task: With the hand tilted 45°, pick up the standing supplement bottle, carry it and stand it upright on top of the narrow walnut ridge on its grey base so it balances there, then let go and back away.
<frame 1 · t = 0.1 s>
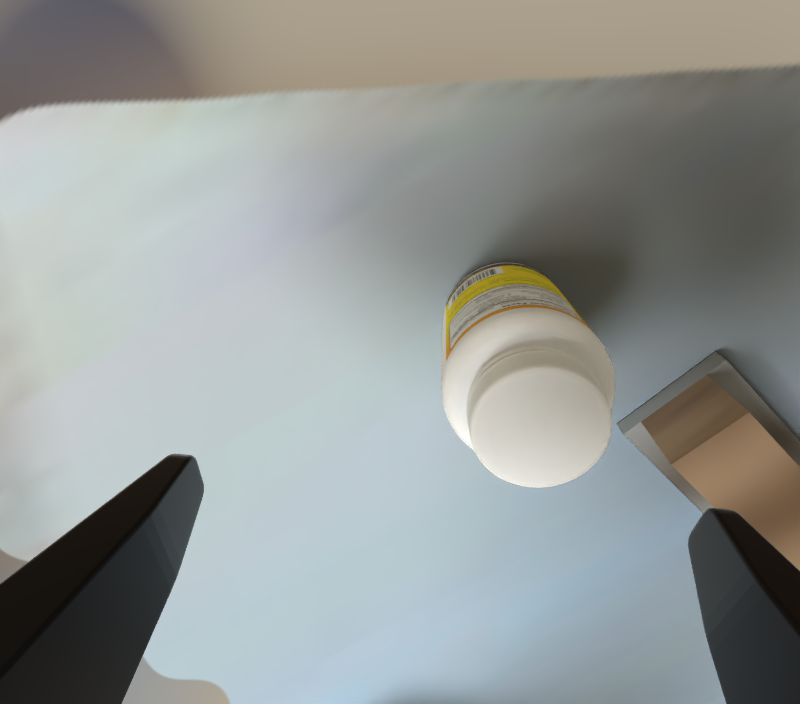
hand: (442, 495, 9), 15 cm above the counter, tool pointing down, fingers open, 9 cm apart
supplement bottle: (502, 316, 24), on the counter
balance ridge: (726, 454, 25), on the counter
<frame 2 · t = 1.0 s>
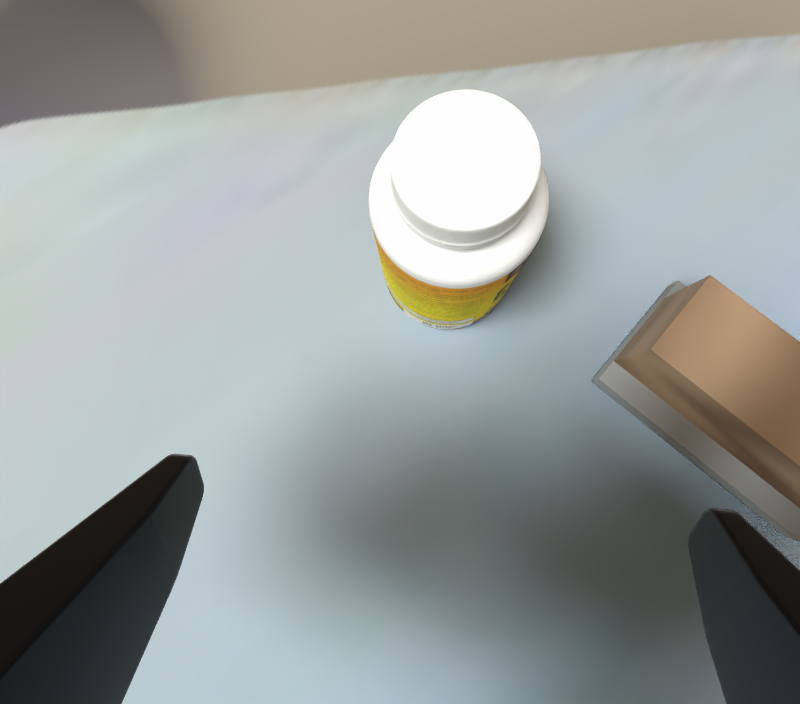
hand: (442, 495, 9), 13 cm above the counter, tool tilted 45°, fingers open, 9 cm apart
supplement bottle: (446, 272, 24), on the counter
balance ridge: (724, 407, 22), on the counter
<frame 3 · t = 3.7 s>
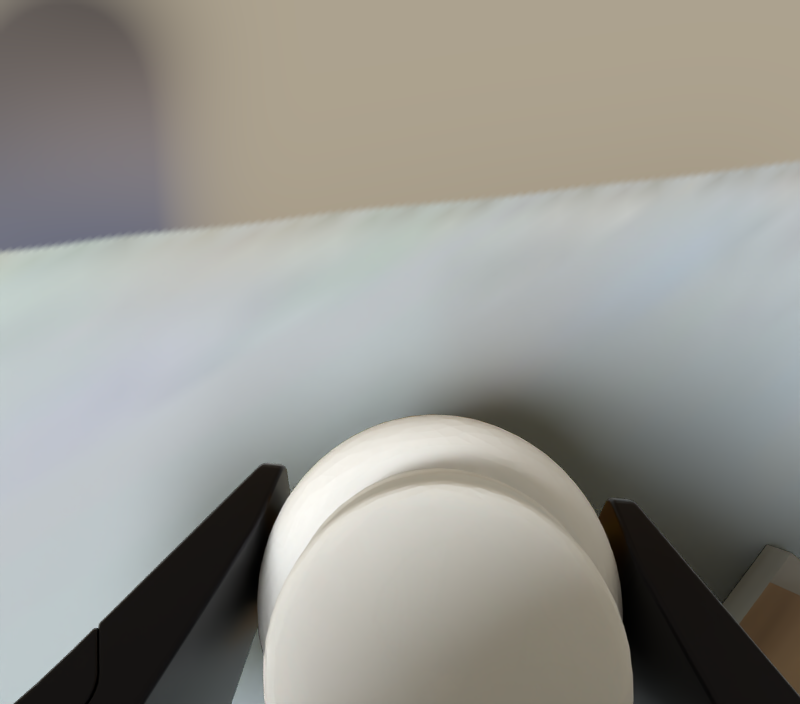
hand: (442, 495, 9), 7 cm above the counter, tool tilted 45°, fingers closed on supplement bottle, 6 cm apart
supplement bottle: (429, 512, 16), on the counter, touching gripper
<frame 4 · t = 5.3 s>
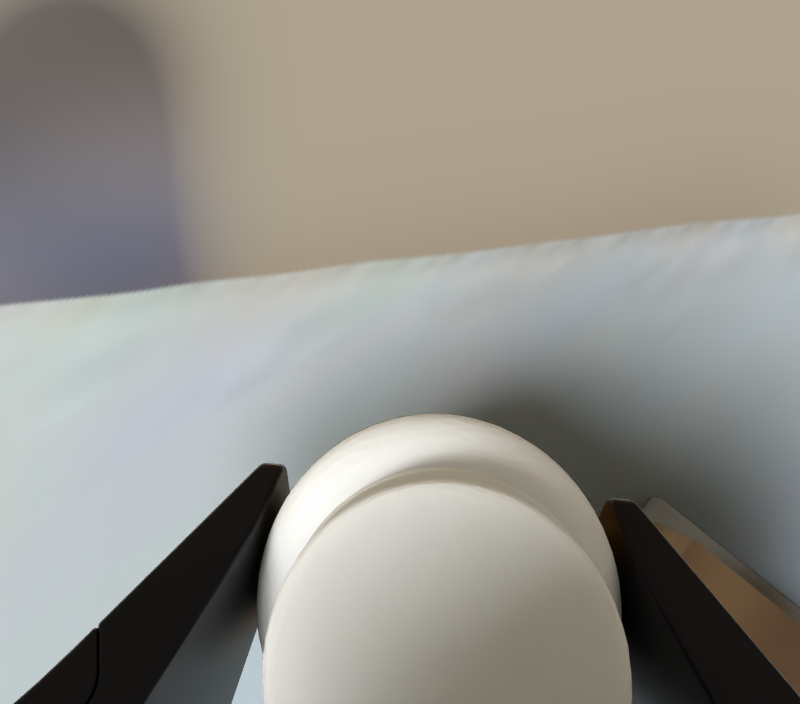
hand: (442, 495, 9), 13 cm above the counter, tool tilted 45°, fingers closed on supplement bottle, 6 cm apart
supplement bottle: (428, 511, 16), point 6 cm above the counter, touching gripper
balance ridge: (713, 630, 21), on the counter
when the fingers open (12 cm above the counter, at t = 7.2 s): supplement bottle stays where it is, resting on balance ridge.
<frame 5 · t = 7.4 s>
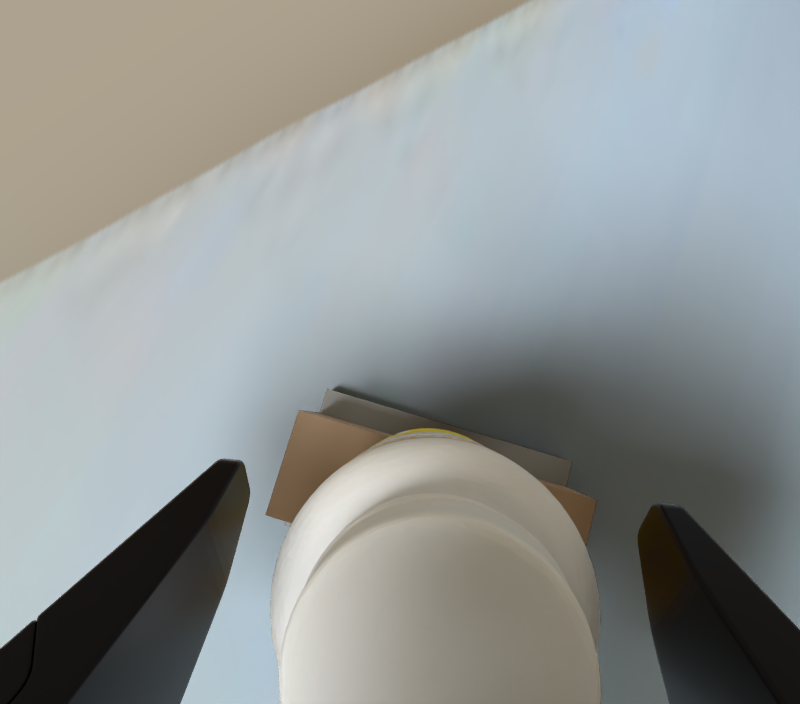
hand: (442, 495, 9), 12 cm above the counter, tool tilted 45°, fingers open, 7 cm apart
supplement bottle: (428, 512, 16), point 4 cm above the counter, touching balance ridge
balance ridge: (427, 489, 21), on the counter
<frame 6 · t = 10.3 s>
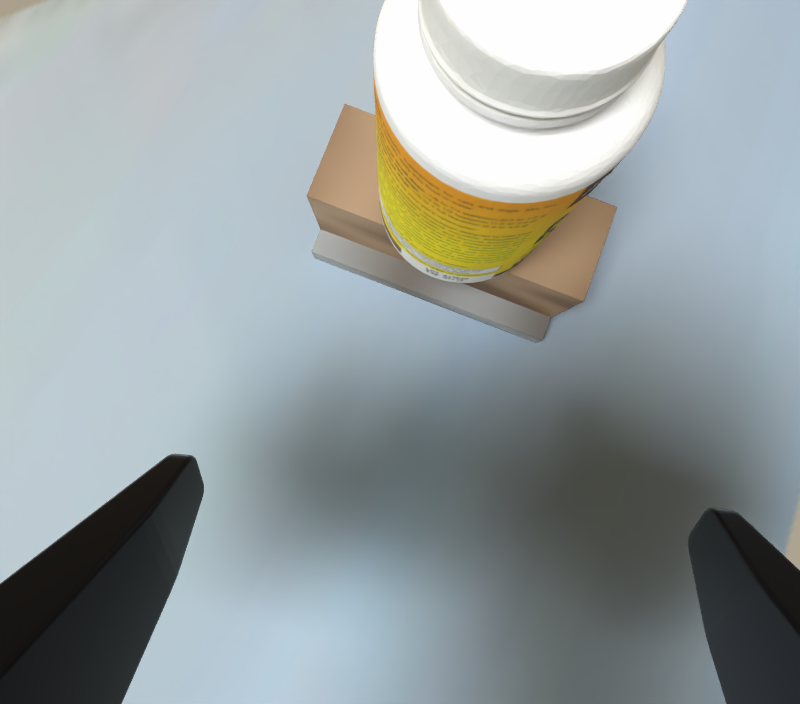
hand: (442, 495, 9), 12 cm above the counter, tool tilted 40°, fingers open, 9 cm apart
supplement bottle: (460, 208, 18), point 4 cm above the counter, touching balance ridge
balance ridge: (447, 241, 22), on the counter
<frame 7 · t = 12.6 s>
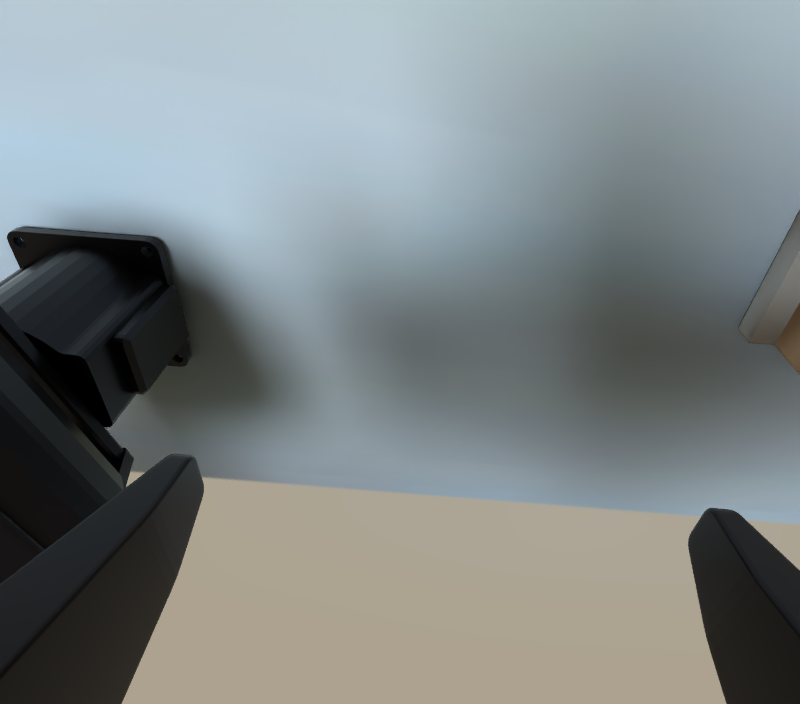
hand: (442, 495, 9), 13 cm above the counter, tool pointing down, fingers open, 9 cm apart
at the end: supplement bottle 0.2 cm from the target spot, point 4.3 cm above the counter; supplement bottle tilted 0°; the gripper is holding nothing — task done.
